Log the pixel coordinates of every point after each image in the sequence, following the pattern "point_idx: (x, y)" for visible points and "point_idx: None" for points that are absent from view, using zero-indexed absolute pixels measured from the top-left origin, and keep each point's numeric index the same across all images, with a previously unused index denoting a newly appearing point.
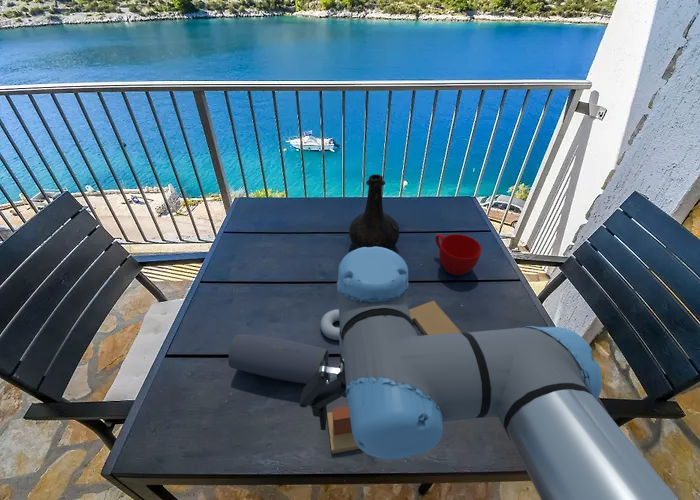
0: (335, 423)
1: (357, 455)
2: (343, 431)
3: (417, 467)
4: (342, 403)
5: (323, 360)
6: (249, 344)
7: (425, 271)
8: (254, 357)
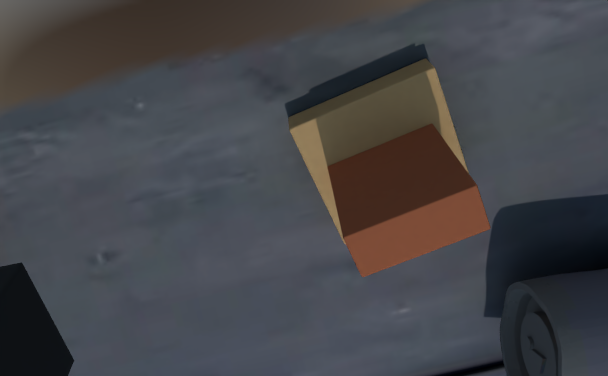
0: (458, 171)
1: (325, 77)
2: (402, 146)
3: (89, 95)
4: None
5: (534, 373)
6: None
7: None
8: None
